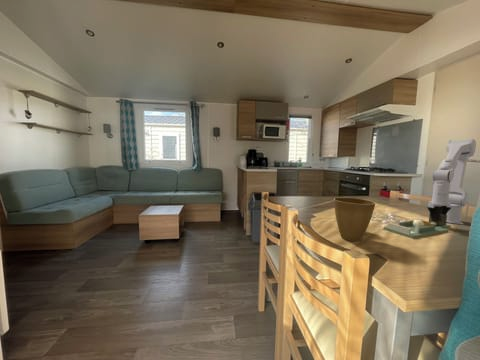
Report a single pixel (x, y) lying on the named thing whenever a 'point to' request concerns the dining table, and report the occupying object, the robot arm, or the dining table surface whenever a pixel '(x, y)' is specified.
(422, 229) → the green long flat piece
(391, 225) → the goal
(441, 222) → the block ended dumbbell
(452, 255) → the dining table surface
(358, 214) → the plant pot
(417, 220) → the ball
